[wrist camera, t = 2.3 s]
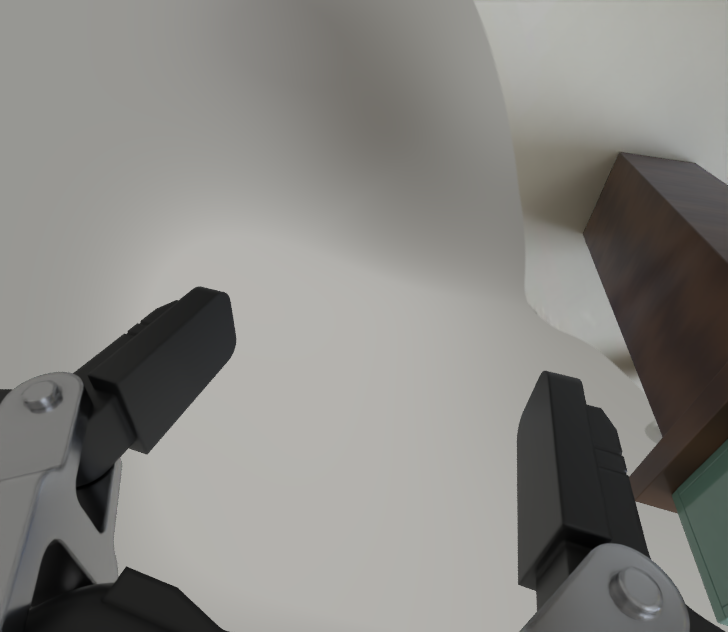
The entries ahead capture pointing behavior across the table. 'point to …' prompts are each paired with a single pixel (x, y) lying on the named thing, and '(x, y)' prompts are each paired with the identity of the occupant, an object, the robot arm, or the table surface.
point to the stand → (669, 305)
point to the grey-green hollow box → (708, 525)
